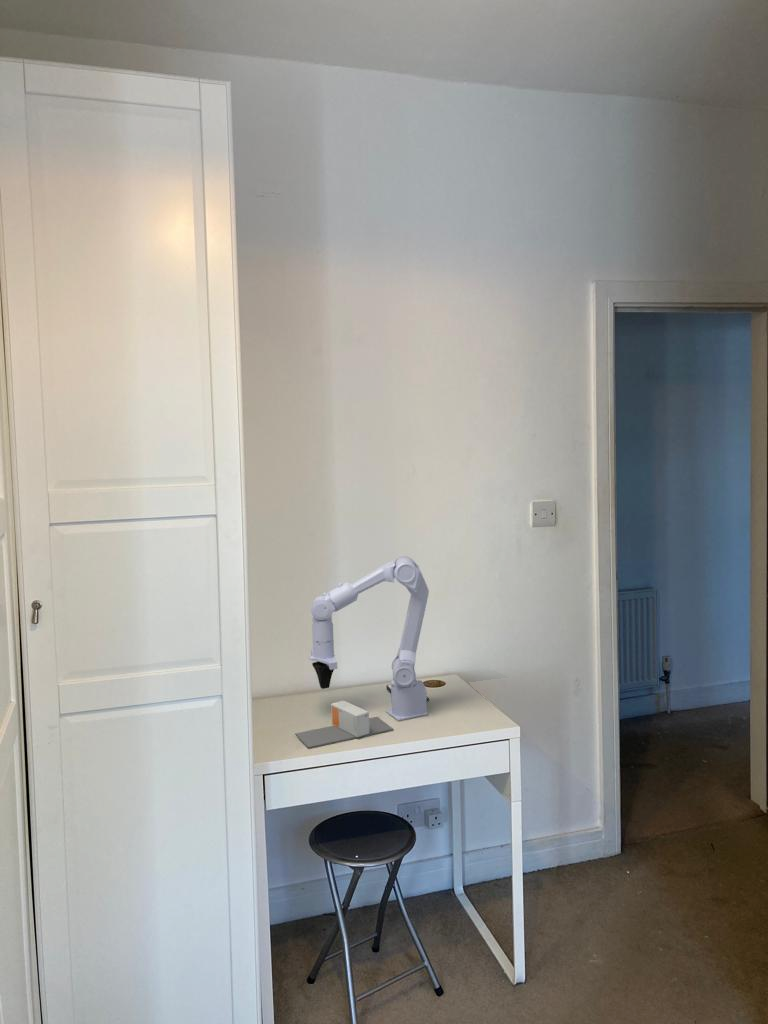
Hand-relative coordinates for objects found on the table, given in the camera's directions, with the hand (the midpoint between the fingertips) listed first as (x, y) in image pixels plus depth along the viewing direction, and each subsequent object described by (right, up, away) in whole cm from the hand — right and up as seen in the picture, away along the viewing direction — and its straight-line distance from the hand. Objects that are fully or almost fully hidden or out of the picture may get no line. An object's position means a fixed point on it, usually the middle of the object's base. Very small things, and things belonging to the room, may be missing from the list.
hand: (324, 687), depth 216 cm
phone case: (+23, -7, +17) cm, 30 cm away
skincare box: (+4, -6, -5) cm, 8 cm away
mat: (+6, -10, -11) cm, 16 cm away
